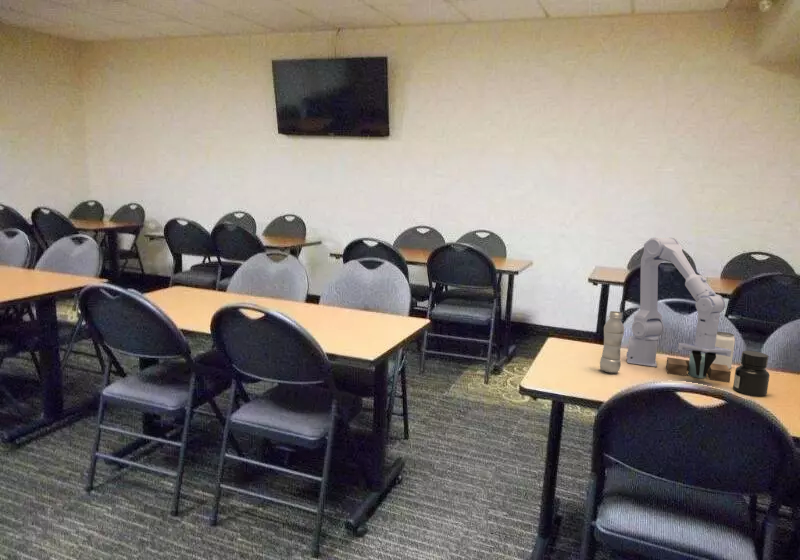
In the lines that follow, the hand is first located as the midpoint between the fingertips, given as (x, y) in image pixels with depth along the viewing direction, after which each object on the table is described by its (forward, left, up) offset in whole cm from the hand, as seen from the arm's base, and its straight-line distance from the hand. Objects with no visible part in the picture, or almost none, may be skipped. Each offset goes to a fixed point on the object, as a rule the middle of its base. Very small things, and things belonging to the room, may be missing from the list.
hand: (700, 374), depth 180 cm
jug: (0, +5, -2) cm, 6 cm away
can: (+9, +23, -3) cm, 25 cm away
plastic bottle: (-27, -4, -3) cm, 27 cm away
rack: (0, +8, -2) cm, 9 cm away
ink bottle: (+13, -2, -3) cm, 14 cm away
